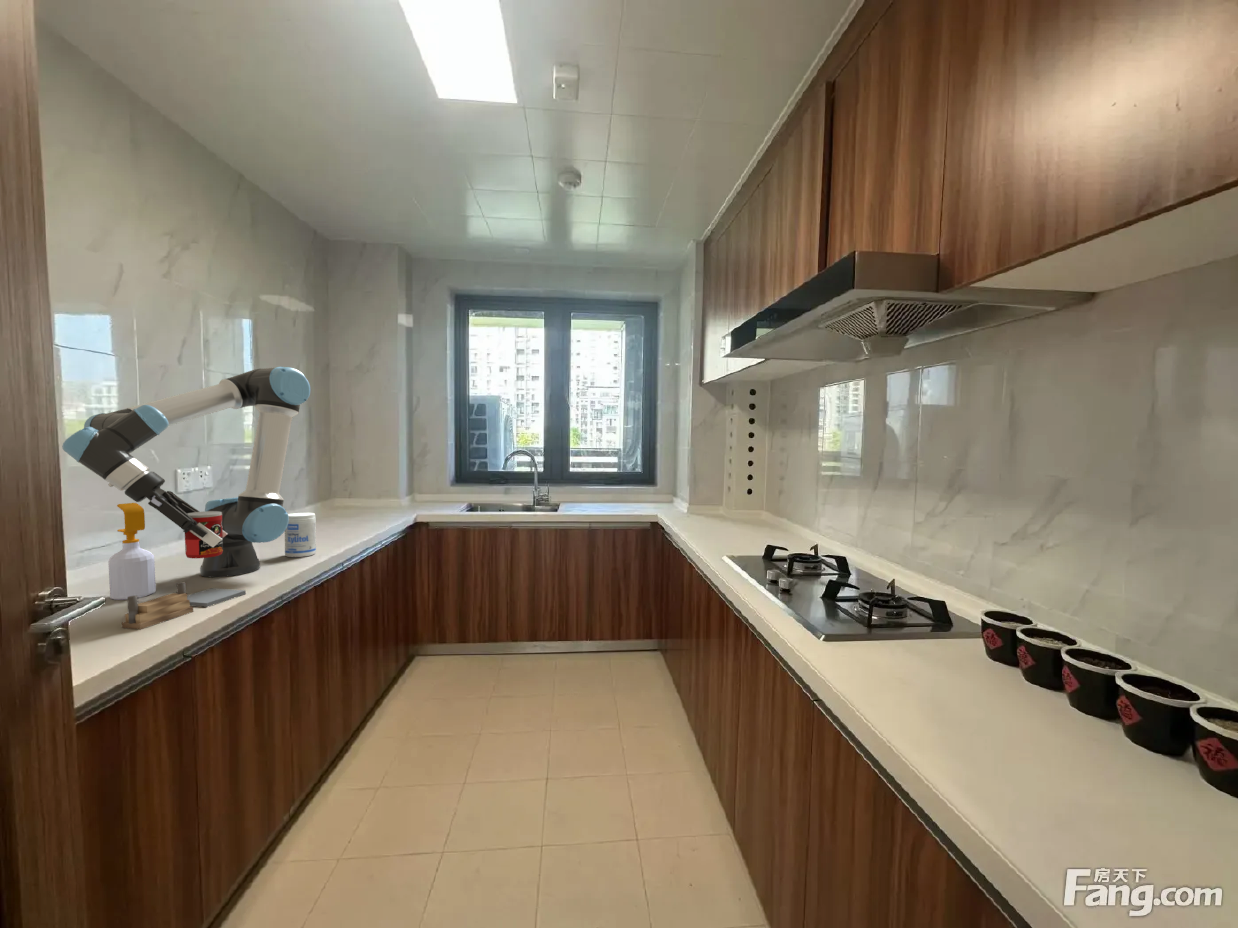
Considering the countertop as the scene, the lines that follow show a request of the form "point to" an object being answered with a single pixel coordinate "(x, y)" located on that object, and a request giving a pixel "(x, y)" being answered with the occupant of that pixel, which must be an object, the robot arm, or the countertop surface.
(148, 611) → the offcut rack
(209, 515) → the canned food
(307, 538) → the supplement tub
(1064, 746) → the countertop surface
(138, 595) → the soap bottle
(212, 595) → the slate mat
